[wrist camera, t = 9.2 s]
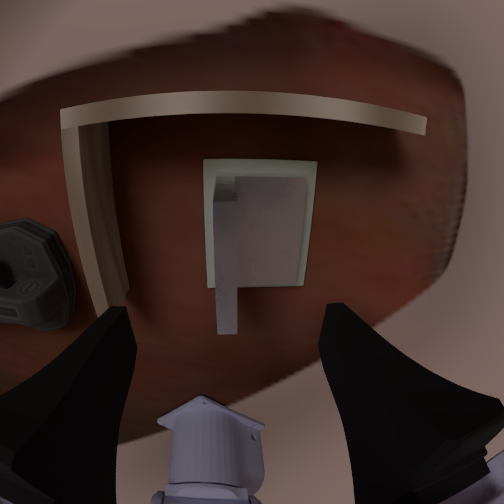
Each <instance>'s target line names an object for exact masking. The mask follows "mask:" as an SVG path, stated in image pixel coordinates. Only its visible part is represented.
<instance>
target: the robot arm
mask: <svg viewBox="0 0 504 504" xmlns="http://www.w3.org/2000/svg"><path fill="white" fill-rule="evenodd" d="M318 347H319V351H320V356H321V361H322V365H323V369H324V372H325V374H326V377H327V380H328V383H329V385H330V388H331V391H332V394H333V396H334V399H335V402H336V405H337V408H338V410H339V413H340V416H341V420H342V423H343V427H344V431H345V436H346V441H347V446H348V451H349V457H350V463H351V470H352V477H353V485H354V496H355V504H504V450H503V451H501V452H500V453H498V454H497V455H495V456H494V457H493V458H491V459H490V460H488V461H487V462H486V461H485V459H484V456H486V455H487V450H486V448H485V445H486V444H488V442H490V441H491V440H492V439H493V438H494V437H495V436H496V435H497V434H498V433H499V432H500V431H501V430H502V429H503V428H504V406H503V405H502V403H501V401H500V400H499V399H498V398H494V397H491V396H488V395H484V394H481V393H477V392H475V391H472V390H469V389H467V388H464V387H462V386H459V385H457V384H455V383H452V382H451V381H448V380H446V379H444V378H442V377H441V376H439V375H437V374H435V373H433V372H431V371H429V370H428V369H426V368H424V367H423V366H421V365H420V364H418V363H416V362H415V361H413V360H412V359H411V358H409V357H407V356H406V355H405V354H403V353H402V352H401V351H399V350H398V349H397V348H395V347H394V346H393V345H391V344H390V343H389V342H388V341H386V340H385V339H384V338H383V337H381V336H380V335H379V334H378V333H377V332H376V331H375V330H373V329H372V328H371V327H370V326H369V325H368V324H367V323H365V322H364V321H363V320H362V319H361V318H360V317H359V316H358V315H356V314H355V313H354V312H353V311H352V310H351V309H350V308H348V307H347V306H346V305H345V304H344V303H331V304H327V307H326V311H325V316H324V320H323V325H322V329H321V334H320V338H319V342H318ZM136 353H137V344H136V341H135V337H134V334H133V331H132V327H131V323H130V320H129V316H128V312H127V308H126V306H110V307H109V308H108V309H107V310H106V311H105V312H104V313H103V314H102V315H101V316H100V317H99V318H98V319H96V320H95V321H94V322H93V323H92V324H91V325H90V326H89V327H88V328H87V329H86V330H85V331H84V332H83V333H82V334H81V335H80V336H79V337H78V338H77V339H76V340H75V341H74V342H73V343H72V344H71V345H69V346H68V347H67V348H66V349H65V350H64V351H63V352H62V353H61V354H60V355H58V356H57V357H56V358H55V359H54V360H53V361H51V362H50V363H49V364H48V365H46V366H45V367H44V368H43V369H41V370H40V371H39V372H37V373H36V374H34V375H33V376H32V377H30V378H29V379H27V380H25V381H24V382H22V383H21V384H19V385H18V386H16V387H15V388H13V389H11V390H9V391H8V392H6V393H4V394H2V395H0V504H116V455H117V443H118V434H119V427H120V422H121V417H122V413H123V409H124V405H125V402H126V398H127V394H128V390H129V387H130V383H131V379H132V376H133V372H134V366H135V360H136ZM157 423H158V424H160V425H162V426H165V427H167V428H169V429H171V430H172V438H171V450H170V463H169V477H168V484H165V492H164V491H158V492H157V493H156V494H154V495H153V496H152V499H151V503H150V504H262V503H261V502H260V501H259V500H258V499H257V498H256V497H255V496H253V495H254V494H255V493H256V492H257V491H258V490H259V489H260V487H261V485H262V483H263V480H264V463H263V455H262V447H261V438H260V430H262V429H264V428H265V425H264V424H263V423H261V422H258V421H256V420H254V419H251V418H249V417H247V416H244V415H242V414H240V413H238V412H236V411H233V410H231V409H229V408H227V407H225V406H223V405H221V404H219V403H217V402H215V401H213V400H211V399H209V398H207V397H205V396H198V397H196V398H194V399H193V400H191V401H189V402H187V403H186V404H184V405H182V406H180V407H179V408H177V409H175V410H173V411H172V412H170V413H168V414H166V415H164V416H162V417H161V418H159V419H158V420H157Z"/></svg>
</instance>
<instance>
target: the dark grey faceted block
mask: <svg viewBox="0 0 504 504" xmlns="http://www.w3.org/2000/svg"><path fill="white" fill-rule="evenodd" d="M76 289H77V285H76V281H75V277H74V273H73V268H72V264H71V261H70V259H69V257H68V255H67V253H66V251H65V249H64V247H63V245H62V243H61V241H60V239H59V236H58V234H57V232H56V231H54V230H52V229H50V228H48V227H46V226H44V225H42V224H40V223H38V222H36V221H34V220H32V219H30V218H24V219H19V220H14V221H10V222H5V223H0V323H7V324H21V325H24V326H27V327H30V328H33V329H37V330H40V331H43V332H47V331H51V330H54V329H58V328H61V327H64V326H66V325H67V323H68V321H69V319H70V318H71V316H72V314H73V313H74V311H75V305H76Z"/></svg>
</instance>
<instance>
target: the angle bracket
mask: <svg viewBox="0 0 504 504" xmlns="http://www.w3.org/2000/svg"><path fill="white" fill-rule="evenodd" d="M306 184H307V178H306V177H305V176H304V175H303V174H288V173H217V175H216V181H215V188H214V196H213V238H214V269H215V293H216V313H217V331H218V334H237V286H250V285H288V284H296V278H297V270H298V262H299V253H300V244H301V235H302V226H303V216H304V206H305V195H306Z"/></svg>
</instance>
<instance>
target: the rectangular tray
mask: <svg viewBox="0 0 504 504" xmlns="http://www.w3.org/2000/svg"><path fill="white" fill-rule="evenodd" d="M316 171H317V161H302V160H280V159H203V174H204V216H205V243H206V265H207V283H208V288H215V269H214V238H213V196H214V188H215V181H216V175H217V173H288V174H303V175H304V176H305V177H306V178H307V184H306V195H305V206H304V216H303V226H302V235H301V244H300V253H299V262H298V270H297V278H296V284H288V285H250V286H237V287H278V286H303V283H304V276H305V269H306V262H307V254H308V246H309V238H310V229H311V221H312V212H313V202H314V193H315V182H316Z"/></svg>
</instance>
